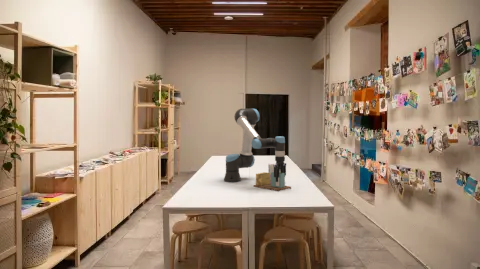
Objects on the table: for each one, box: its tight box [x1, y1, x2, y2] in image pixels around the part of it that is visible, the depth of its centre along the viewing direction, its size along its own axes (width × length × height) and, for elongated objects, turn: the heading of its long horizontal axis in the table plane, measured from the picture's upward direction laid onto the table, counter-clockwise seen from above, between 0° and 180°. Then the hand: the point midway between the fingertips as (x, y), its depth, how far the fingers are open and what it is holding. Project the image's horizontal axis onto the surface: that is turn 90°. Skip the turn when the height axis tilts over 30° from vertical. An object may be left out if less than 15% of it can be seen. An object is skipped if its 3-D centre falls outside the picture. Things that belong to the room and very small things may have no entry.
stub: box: [271, 172, 286, 188], centre depth 285 cm, size 10×5×11 cm, turn 45°
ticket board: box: [253, 172, 292, 192], centre depth 290 cm, size 26×16×10 cm, turn 45°
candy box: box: [268, 163, 281, 183], centre depth 309 cm, size 14×6×16 cm, turn 84°
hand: (279, 185), depth 284 cm, fingers closed on stub, 5 cm apart
